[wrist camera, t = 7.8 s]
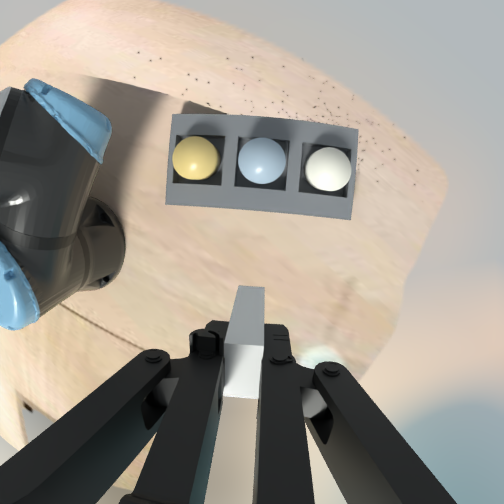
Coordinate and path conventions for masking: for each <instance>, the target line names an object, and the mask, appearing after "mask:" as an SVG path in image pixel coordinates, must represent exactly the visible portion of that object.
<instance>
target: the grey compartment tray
mask: <svg viewBox="0 0 504 504" xmlns="http://www.w3.org/2000/svg"><path fill="white" fill-rule="evenodd" d="M192 136H198V137H202V138H204V139H206V140H208V141H209V142H210V143H211V144H213V145H214V146H215V147H216V148H217V149H218V151H219V153H220V158H221V161H220V166H219V168H218V170H217V172H216V173H215V174H214V175H213V176H211V177H210V178H207V179H203V180H195V179H187V178H184V177H182V176H181V175H179V174H178V173H177V171H176V170H175V168H174V166H173V161H172V157H173V152H174V149H175V148H176V146H177V145H178V144H179V143H180V142H181V141H182V140H183V139H185V138H188V137H192ZM255 138H269V139H271V140H274V141H275V142H277V143H278V144H279V145H280V146H281V148H282V149H283V151H284V153H285V158H286V164H285V168H284V171H283V172H282V174H281V175H280V176H279V177H278V178H277V179H276V180H274V181H272V182H270V183H266V184H258V183H254V182H252V181H250V180H248V179H247V178H246V177H245V176H244V175H243V174H242V172H241V171H240V168H239V164H238V157H239V153H240V151H241V149H242V147H243V146H244V145H245V144H246V143H247V142H249V141H250V140H252V139H255ZM326 147H332V148H336V149H338V150H340V151H342V152H343V153H344V154H345V155H346V156H347V157H348V159H349V161H350V164H351V176H350V179H349V181H348V183H347V184H346V185H345V186H344V187H342V188H341V189H339V190H335V191H326V190H319V189H316V188H314V187H312V186H311V185H310V184H309V183H308V182H307V180H306V179H305V176H304V171H303V168H304V163H305V161H306V159H307V158H308V157H309V156H310V155H311V154H313V153H314V152H316V151H318V150H320V149H322V148H326ZM357 147H358V129H353V128H348V127H342V126H336V125H330V124H323V123H316V122H309V121H301V120H293V119H283V118H273V117H261V116H246V115H226V114H173V115H172V124H171V133H170V144H169V155H168V168H167V184H166V203H165V205H183V206H200V207H215V208H229V209H242V210H254V211H266V212H277V213H288V214H298V215H308V216H318V217H327V218H336V219H345V220H351V213H352V205H353V195H354V185H355V174H356V162H357Z"/></svg>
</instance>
